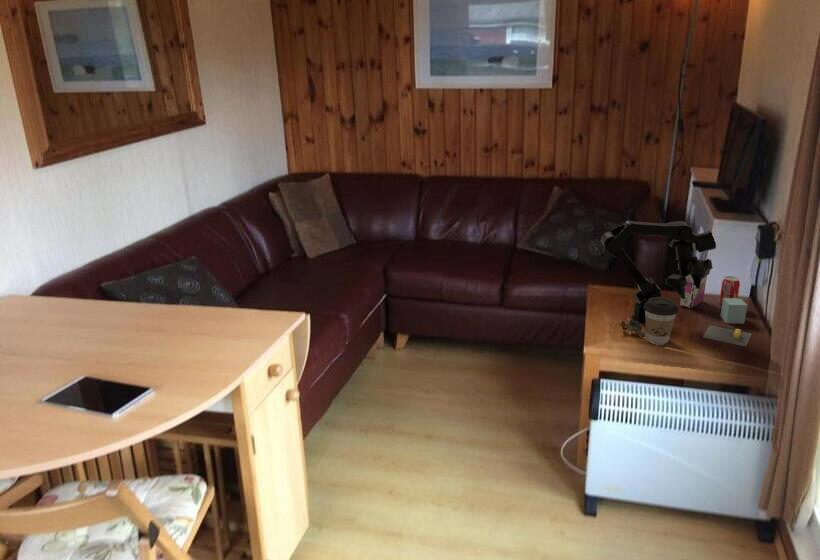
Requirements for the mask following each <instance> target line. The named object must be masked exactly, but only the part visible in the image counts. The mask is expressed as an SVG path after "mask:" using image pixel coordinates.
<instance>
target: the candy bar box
mask: <svg viewBox="0 0 820 560" xmlns="http://www.w3.org/2000/svg"><path fill="white" fill-rule="evenodd" d="M707 279H708V275H707V276H705V277H704V278H702V280H701V285H700V289H697V288H696V286H695V284H694V281H693V279H692V276H691V275H689V276H688V277H686V280H687V281H686V283H687V285H686V286H685V299H682V298H681V297H680V300H679V306H680V307H682V308H686V309H690V308H694V307H697V305H699V304H701V303H703V302H704V298H705V297H704V296H705V291H706V285H707V284H706V283H707V281H708V280H707Z"/></svg>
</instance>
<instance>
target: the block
mask: <svg viewBox="0 0 820 560" xmlns="http://www.w3.org/2000/svg"><path fill="white" fill-rule="evenodd" d="M747 309H748V304H747V303H746V302H745V301H744V300H743V298H723V303H722V307H721V311H720V318H721V319H722V320H723V322H724V323H725V324H742V325H743V324H744V325H745V321H746V314H747Z"/></svg>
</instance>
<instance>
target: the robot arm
mask: <svg viewBox="0 0 820 560" xmlns="http://www.w3.org/2000/svg"><path fill="white" fill-rule="evenodd" d="M634 234H636V235H637V234H638V235H649V236H650V235H652V236H664V237H668V238H671V239H672V240H671V241H670V242H669V243H668V246H669V247H671V248H672V249H674V248H675V253H676V254H675V255H676V258H675V259H674V262H675V263H677V266H678V268H677V269H676V273H679V274H675V273H673V274H671V275H669V276H668V277H667V278H666V279H665V284H666V285H667V286H668V287H672V288H673V289H674V291H676V293H677V294H678V295H679V296H680V299H681V298H682V299H685V286H686V285H687V283H686V281H687V280H686V277H688V276H689V275H691V276H692V279H693V281H694V284H695V286H696V288H697V289H700V285H701V280H702V278H704V277H705V276H707V277H708V276H709V275H710V273H711V270H712V269H713V268H714V267H713V262H712V259H710V258H707V259H706V260H703V259H699V258H698V257H697V255H694V251H697V253H699V254H700V253H703V252H708V251H713V250H716V249H717V244H716V241H715V237H714V236H713V232H711V231H710V230H708V231H705V232H702V233H696V234H695V232H693V230H692V228H691V226H689V225H688V224H687V223H686V222H685V221H683V220H682V221H681V220H678V221H670V222H666V223H661V222H645V221H632V220H626V221H625V222H623V223H622V224H621V225H618V226H616V227H614V228H612V229H611V230H610V231H606V232H605V233H603V234H602V235H601V237H600V243H601V244H602V246H603V247H604V249H605V250H606V251H607V253H610V255H611V256H613V257H614V258H616V259H617V260H618V261H619V263H620V264H621V265H622V267H623V268H624V269H625V270H626V272H627V273H628V274H629V276H630V277H631V278H632V279H633V280H634V281H635V283H636V284H637V287H638V289H639V291H638V292H636V293H635V294H634V295H633V296H634V300H635V301H636V303H635V304H634V308H633V309H634V311H633V314H632V315H631V316H630V317H631V319H634V320H637V321H638V322H639V323H640V324H644V323H646V320H645V309H644V304H645V303H646V302H647V301H648V299H650V298H654V297H662V293H661V292H662V289H661V288H660V287H659V286H658V284H657V283H656V282H655V281H654V280H653V278H652V277H650V276H649V278H647V277H645V276H644V274H643V273H642V272H641V271H640V269H639V268H638V267H637V266H636V264H635V263H634V262H633V260H632V259H631V258H630V257H629V255H628V254H627V253H626V250H625V249H624V246H623V244H624V243H625V242H626V241H627V240H628V239H629V238H630V237H631V236H632V235H634Z"/></svg>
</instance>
